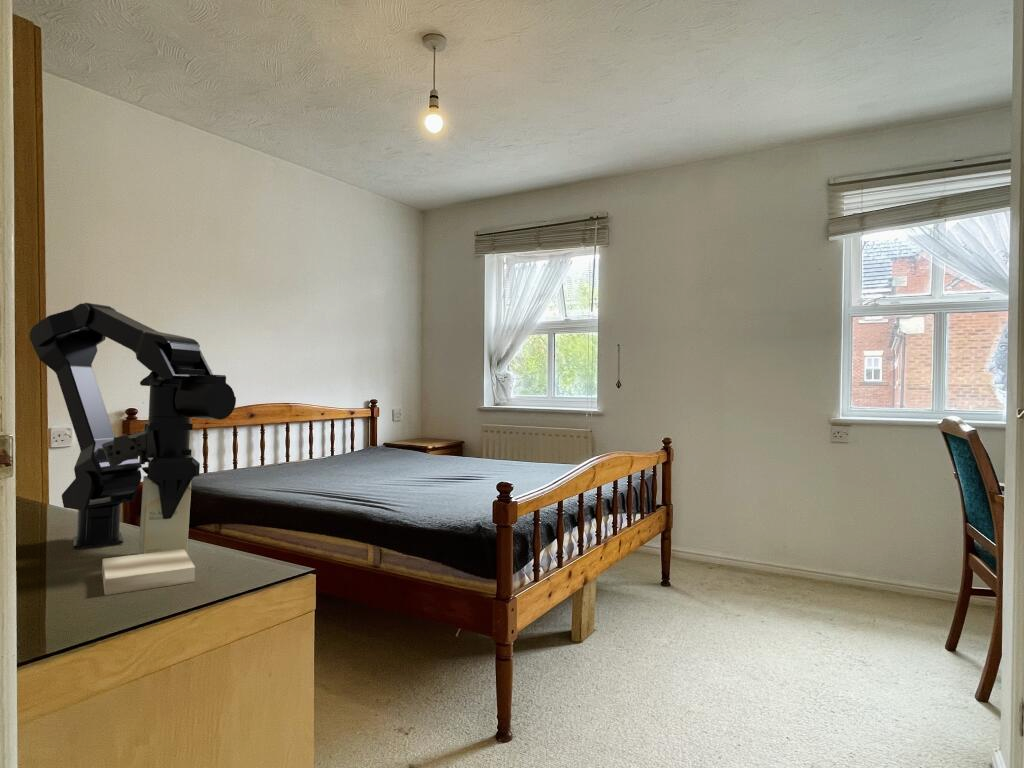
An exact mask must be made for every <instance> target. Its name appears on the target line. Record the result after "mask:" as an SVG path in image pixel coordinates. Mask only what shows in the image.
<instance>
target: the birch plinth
mask: <svg viewBox="0 0 1024 768" xmlns="http://www.w3.org/2000/svg"><path fill="white" fill-rule="evenodd" d="M101 564H102V565H101V566H102V567H101V568H102V569H101V578H102V584H103V591H104V596H108V595H109V596H111V595H116V594H121V593H122V594H124V593H130V592H136V591H144V590H149V589H150V590H151V589H156V588H161V587H163V588H164V587H168V586H169V587H170V586H175V585H183V584H189V583H195V581H196V580H195V579H196V578H195V577H196V566H195V564H194V563H193V561H192V559H191V558H190V556H189V555H188V552H187V553H186V551H185V549H180V550H172V551H164V552H155V553H147V554H139V553H138V554H132V555H130V554H129V555H122V556H115V557H106V558H102V563H101Z"/></svg>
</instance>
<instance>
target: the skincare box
mask: <svg viewBox="0 0 1024 768" xmlns="http://www.w3.org/2000/svg"><path fill="white" fill-rule="evenodd" d="M192 480H193V479H192ZM192 480H191V482H190V484H189V486H188V488H187V489H186V491H185V493H184V495H183V497H182V499H181V501H180V503H179V504H178V506H177V508H176V510H175V512H174V514H173V516H172V518H170V519H163V515H162V510H161V503H160V497H159V491H158V486H157V485H156V484H155V483H153V482H152V481H151V480H150V479H149V478H148V477H147V475H143V479H142V493H141V506H140V507H141V510H140V522H139V538H138V539H139V540H138V554H147V553H155V552H164V551H172V550H180V549H185V551H186V553H187V554H188V545H189V544H188V543H189V529H190V526H189V525H190V509H191V499H192V498H191V496H192V495H191V494H192Z"/></svg>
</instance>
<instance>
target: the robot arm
mask: <svg viewBox="0 0 1024 768" xmlns="http://www.w3.org/2000/svg"><path fill="white" fill-rule="evenodd" d="M106 338H107V339H110V340H112V341H113V342H115V343H117V344H119V345H121V346H123V347H125V348H127V349H129V350H131V351H132V352H134V354H135V359H136V360H137V361H138V362H139V363H140V364H142V365H143V366H144V368H147V369H148V370H149V371H150V373H149V374H148V375H147V376H145V377H144V378H142V380H140V382H139V385H140V386H142V387H144V386H145V387H149V399H148V400H149V401H148V402H149V404H148V420H147V421H146V423H144V425H143V426H144V427H143V431H140V432H136V433H133V434H129V435H127V434H125V433H124V434H122V435H120V436H116V435H115V433H114V430H113V427H112V422H111V421H110V417H109V414H108V411H107V408H106V405H105V403H104V400H103V397H102V394H101V393H102V392H101V391H100V387H99V385H98V381H97V378H96V375H95V372H94V370H93V365H92V364H93V362H94V360H95V357H96V355H97V353H98V346H99V344H102V342H104V341H105V340H106ZM29 339H30V343H31V345H32V347H33V349H34V352H35V353H36V355H37V357H38V360H40V361H41V362H42V363H43V364H44V365H45V366H47V367H48V368H50V369H51V370H52V371H53V372H54V373H55V374H56V377H57V380H58V384H59V386H60V389H61V393H62V396H63V399H64V402H65V405H66V408H67V411H68V415H69V418H70V421H71V425H72V427H73V431H74V434H75V437H76V440H77V442H78V446H79V450H80V452H79V455H78V457H77V460H76V463H75V466H74V468H73V470H74V476H75V478H74V480H73V481H72V482H71V483H70V485H69V486H68V487H66V489H65V490H64V492H63V493H62V494H61V500H62V505H63V508H65V509H71V510H77V525H76V535H75V536H74V537H73V539H72V540H73V541H72V542H73V545H72V548H73V549H82V548H83V549H84V548H90V547H91V548H92V547H102V546H112V545H119V544H123V543H124V538H123V535H122V532H120V529H121V527H120V526H121V507H122V504H125V503H132V502H135V500H136V496H137V493H138V490H139V487H140V484H141V481H142V472H144V473H145V474H146V476H147V477H148V478H149V479H150V480H151V481H152V482H153V483H155V484H156V485H157V486H158V491H159V497H160V503H161V510H162V515H163V519H170V518H172V516H173V514H174V512H175V510H176V508H177V506H178V504H179V503H180V501H181V499H182V497H183V495H184V493H185V491H186V489H187V488H188V486H189V484H190V482H191V480H194V478H195V477H199V476H200V470H201V469H200V466H201V463H200V462H199V461H198V460H197V459H195V458H194V457H193V456H192V449H191V448H190V445H191V444H190V442H191V441H190V440H191V439H190V438H191V431H193V426H194V423H193V422H191V420H192V418H194V419H208V420H220V421H221V420H225V419H227V418H229V417H230V415H232V413H233V411H234V410H235V407H236V404H237V403H236V402H237V399H236V398H237V397H236V396H235V393H234V390H233V388H232V387H231V385H229V384H228V383H227V376H226V375H225V374H213V372H212V369H211V368H210V366H209V364H208V362H207V360H206V358H205V356H204V355H203V353H202V351H201V349H200V346H201V345H200V344H199V342H198V341H197V340H195V338H194V339H193V338H190V337H185V336H182V335H177V334H173V333H166V332H162V331H157V330H155V329H154V328H152V327H149V326H147V325H146V324H143V323H141V322H139V321H137V320H135V319H134V318H131V317H129V316H128V315H125V314H123V313H121V312H119V311H117V310H116V309H115V308H113V307H111V306H109V305H105V304H104V305H103V304H97V303H90V302H83V303H79V304H77V305H76V306H74V307H72V308H71V309H68V310H64V311H63V310H62V311H61V312H56V313H53V314H50V315H48V316H46V317H44V318H43V319H41V320H39V322H38V323H36V324H35V325H33V327H32V328H31V329H30V332H29ZM138 457H139V458H138ZM146 463H147V466H142V465H146ZM141 470H142V471H141Z"/></svg>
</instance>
